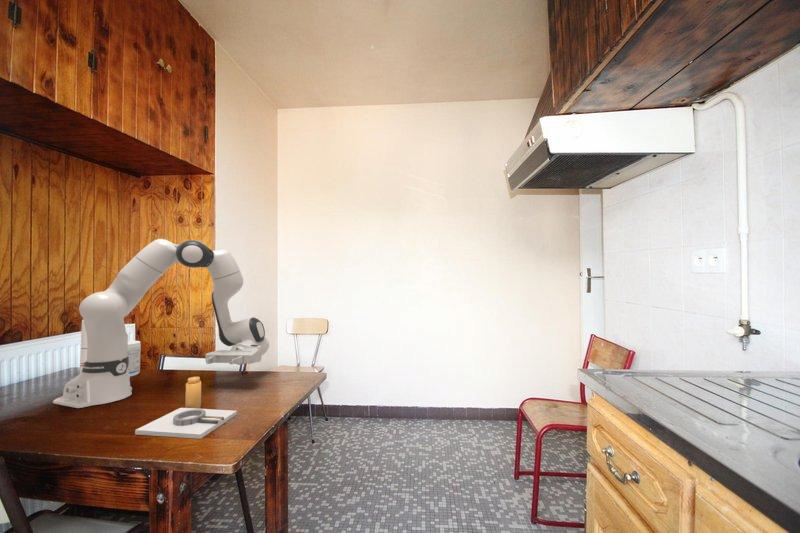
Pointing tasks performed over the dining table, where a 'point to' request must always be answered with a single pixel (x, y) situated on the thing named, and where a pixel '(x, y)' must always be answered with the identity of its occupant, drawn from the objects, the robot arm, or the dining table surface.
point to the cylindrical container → (83, 346)
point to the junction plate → (184, 430)
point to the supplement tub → (134, 357)
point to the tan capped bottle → (193, 393)
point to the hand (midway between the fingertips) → (219, 362)
